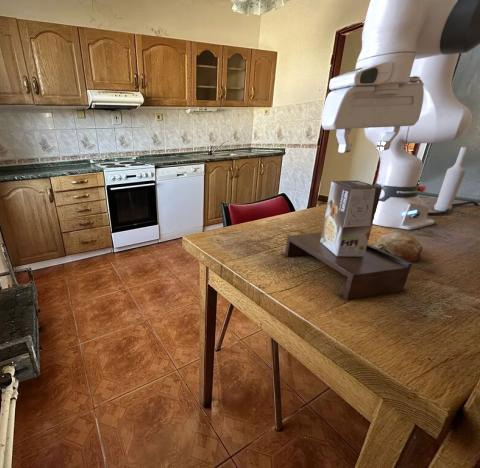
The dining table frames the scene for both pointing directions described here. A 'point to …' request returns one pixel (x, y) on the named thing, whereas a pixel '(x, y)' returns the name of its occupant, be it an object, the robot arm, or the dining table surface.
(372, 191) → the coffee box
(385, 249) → the bread roll
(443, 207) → the bottle
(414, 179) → the robot arm
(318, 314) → the dining table surface
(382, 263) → the shelf
